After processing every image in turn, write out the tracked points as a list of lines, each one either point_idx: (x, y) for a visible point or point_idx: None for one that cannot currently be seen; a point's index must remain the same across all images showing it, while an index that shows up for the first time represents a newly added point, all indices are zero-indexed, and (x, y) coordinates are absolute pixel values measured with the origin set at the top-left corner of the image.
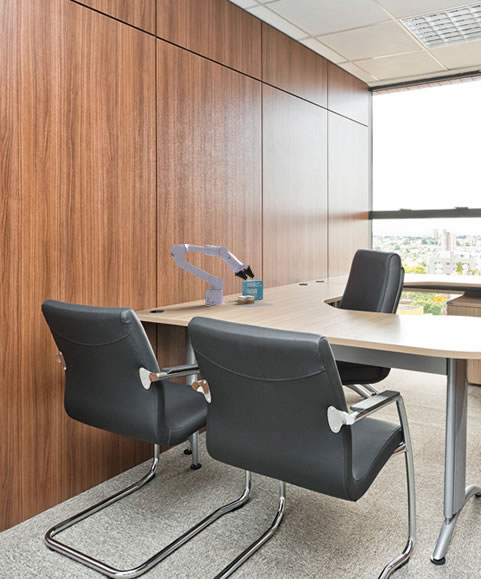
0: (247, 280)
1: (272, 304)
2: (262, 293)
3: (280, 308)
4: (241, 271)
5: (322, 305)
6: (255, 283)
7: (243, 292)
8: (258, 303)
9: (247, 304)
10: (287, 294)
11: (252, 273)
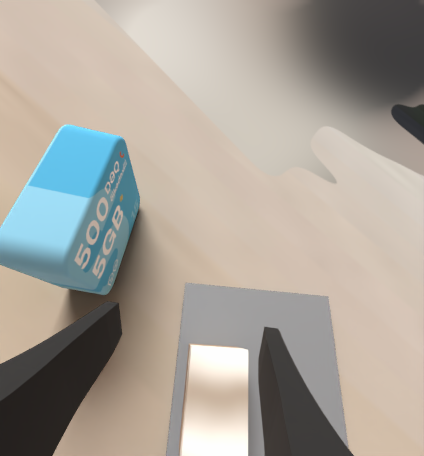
0: (15, 207)
1: (313, 296)
2: (135, 186)
3: (402, 335)
4: (8, 424)
5: (377, 159)
6: (105, 194)
7: (61, 284)
8: (250, 328)
9: (251, 417)
10: (83, 31)
11: (290, 369)
